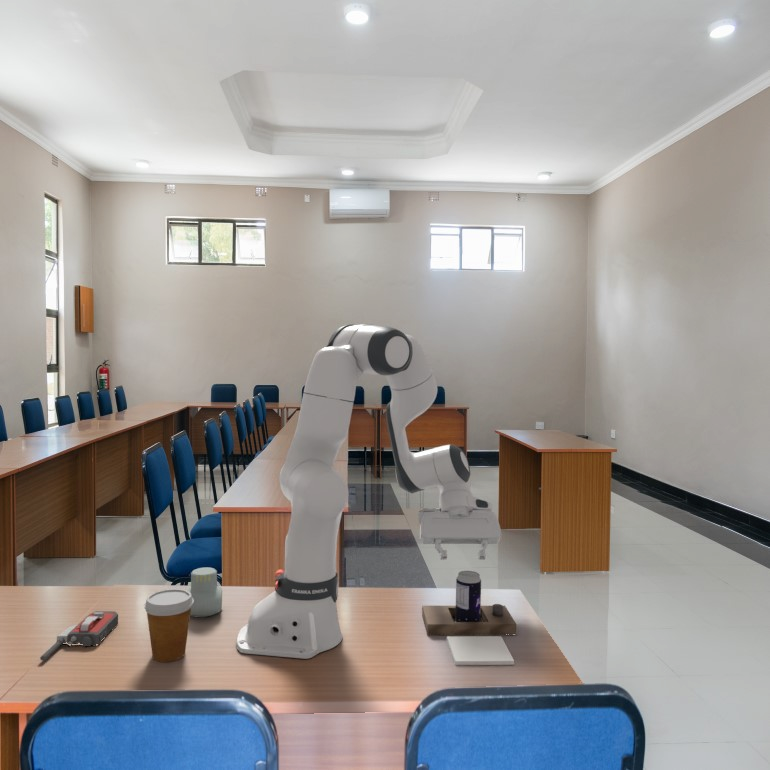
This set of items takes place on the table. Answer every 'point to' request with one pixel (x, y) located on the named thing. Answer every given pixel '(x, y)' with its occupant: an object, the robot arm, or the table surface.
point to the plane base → (492, 617)
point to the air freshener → (205, 592)
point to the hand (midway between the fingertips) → (463, 558)
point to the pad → (479, 650)
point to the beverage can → (468, 597)
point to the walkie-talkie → (86, 631)
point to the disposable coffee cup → (168, 623)
